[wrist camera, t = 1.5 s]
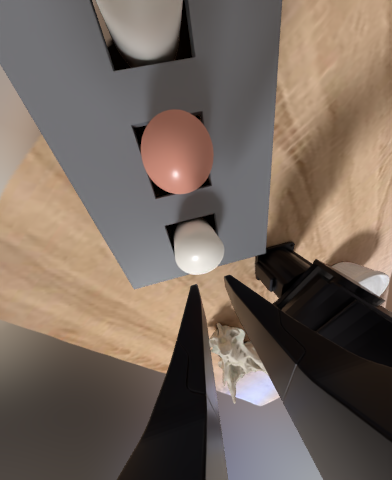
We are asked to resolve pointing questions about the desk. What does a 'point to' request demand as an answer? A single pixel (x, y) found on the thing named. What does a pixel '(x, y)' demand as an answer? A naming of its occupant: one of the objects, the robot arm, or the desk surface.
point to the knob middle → (177, 151)
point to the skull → (234, 355)
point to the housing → (143, 111)
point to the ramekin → (364, 276)
